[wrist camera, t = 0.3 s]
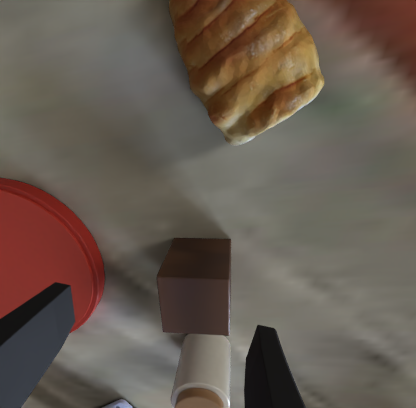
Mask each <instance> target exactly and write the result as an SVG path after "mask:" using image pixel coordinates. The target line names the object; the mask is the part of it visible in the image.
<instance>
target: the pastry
mask: <svg viewBox="0 0 416 408" xmlns="http://www.w3.org/2000/svg"><path fill="white" fill-rule="evenodd" d="M169 12H170V16H171V19H172V23H173V26H174V33H175V40H176V42H177V47H178V51H179V53H180V55H181V57H182V60H183V62H184V64H185V66H186V68H187V71H188V75H189V83H190V89H191V90H192V92H193V93H194V94H195V95H196V96H198V97H199V98H200V99H201V101H202V103H203V105H204V106H205V108H206V109H207V111H208V115H209V117H210V119H211V121H212V122H213V124H215V126H217V127H218V128H219V129H220V130H221V131H222V133H223V134H224V137H225V140H226V141H227V142H228V143H229V144H231V145H241V144H244V143H246V142H248V141H250V140H252V139H254V138H255V137H256V136H257V135H258V134H260V133H262V132H263V131H265V130H267V129H269V128H271V127H273V126H275V125H276V124H278V123H280V122H282V121H284V120H286V119H287V118H289V117H290V116H291V115H293V114H294V113H295V112H296V111H298V110H299V109H301V108H302V107H303V106H305V105H307V104H308V103H310V102H311V101H312V100H313V99H314V98H315V97H316V96H317V95H318V93H319V92H320V90H321V89H322V87H323V85H324V77H323V76H322V74H321V71H320V68H319V57H318V54H317V50H316V47H315V44H314V42H313V39H312V36H311V35H310V33H309V32H308V31H307V29H306V28H305V26H304V25H303V24H302V22H301V21H300V19H299V17H298V14H297V12H296V10H295V8H294V6H293V5H291V4H290V3H288V2H287V0H169Z"/></svg>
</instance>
